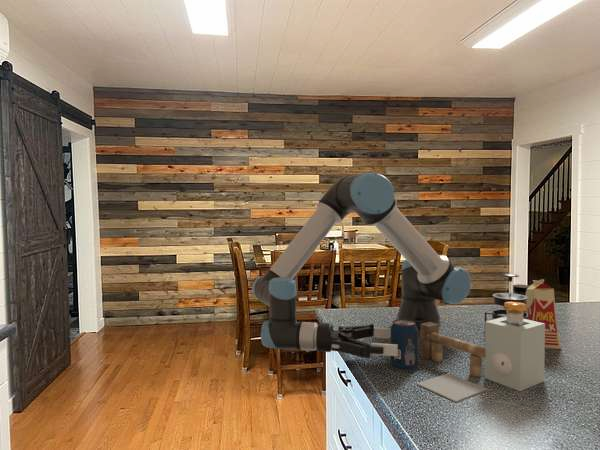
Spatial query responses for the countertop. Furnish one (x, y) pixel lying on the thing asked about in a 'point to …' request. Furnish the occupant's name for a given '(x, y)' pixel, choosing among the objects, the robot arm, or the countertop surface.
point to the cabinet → (514, 353)
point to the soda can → (405, 344)
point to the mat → (452, 387)
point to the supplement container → (520, 289)
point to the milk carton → (543, 311)
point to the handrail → (434, 346)
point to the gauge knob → (515, 313)
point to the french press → (506, 300)
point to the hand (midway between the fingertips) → (397, 341)
